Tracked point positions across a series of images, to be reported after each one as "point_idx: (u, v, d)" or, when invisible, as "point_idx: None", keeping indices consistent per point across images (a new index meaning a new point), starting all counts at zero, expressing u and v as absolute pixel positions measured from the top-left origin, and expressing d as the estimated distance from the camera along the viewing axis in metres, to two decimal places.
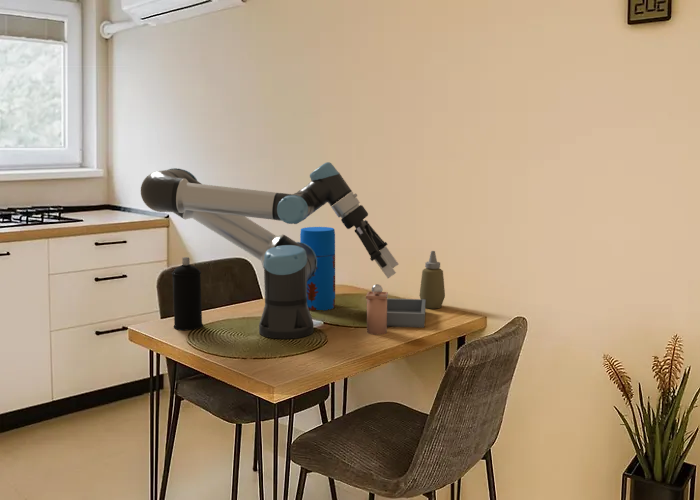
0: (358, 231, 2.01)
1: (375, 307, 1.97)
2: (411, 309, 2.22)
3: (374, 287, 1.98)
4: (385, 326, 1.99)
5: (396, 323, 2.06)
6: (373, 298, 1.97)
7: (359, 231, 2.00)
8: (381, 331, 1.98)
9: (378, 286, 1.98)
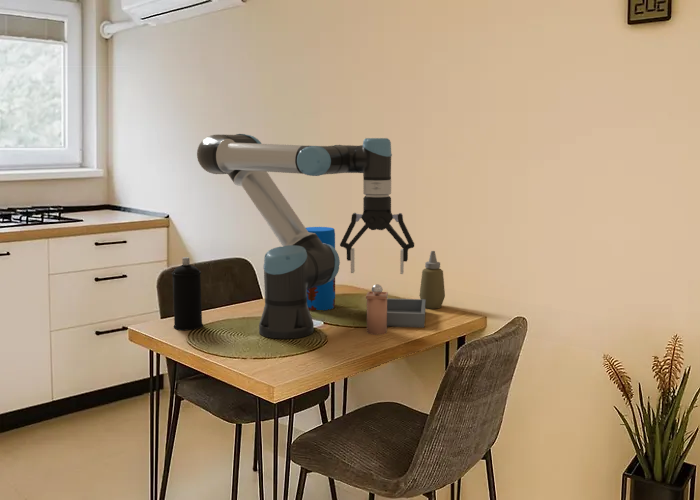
0: None
1: (375, 307, 1.97)
2: (411, 309, 2.22)
3: (374, 287, 1.98)
4: (385, 326, 1.99)
5: (396, 323, 2.06)
6: (373, 298, 1.97)
7: None
8: (381, 331, 1.98)
9: (378, 286, 1.98)
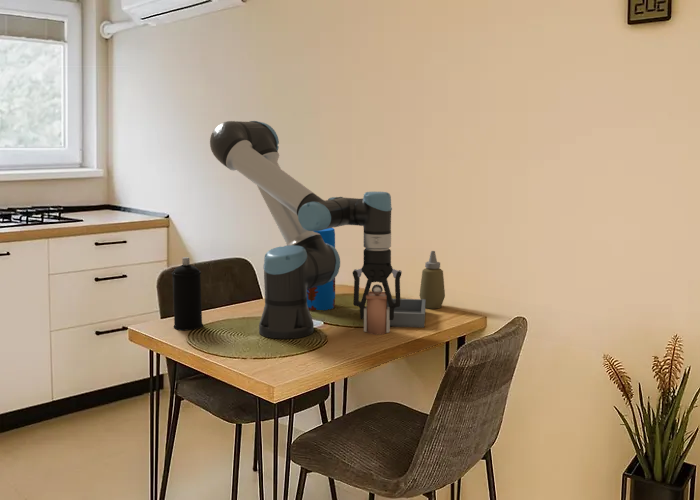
0: None
1: (375, 307, 1.97)
2: (411, 309, 2.22)
3: (374, 287, 1.98)
4: (385, 326, 1.99)
5: (396, 323, 2.06)
6: (373, 298, 1.97)
7: None
8: (382, 331, 1.98)
9: (378, 286, 1.98)
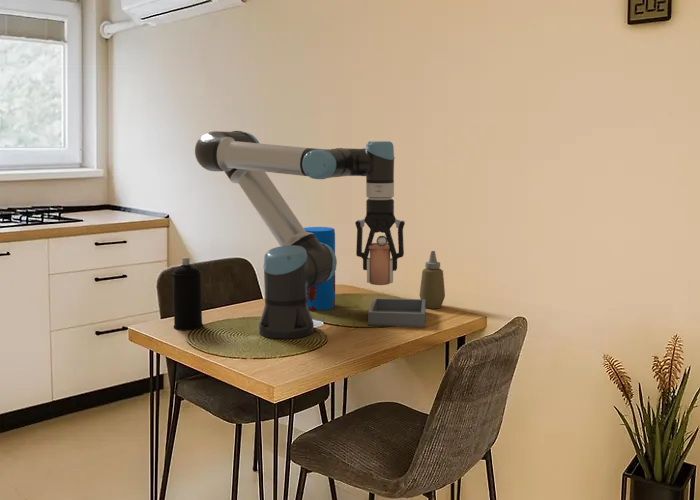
0: None
1: (378, 258, 1.96)
2: (411, 309, 2.22)
3: (381, 242, 1.95)
4: (388, 277, 1.98)
5: (396, 323, 2.06)
6: (376, 248, 1.96)
7: None
8: (385, 282, 1.97)
9: (385, 242, 1.96)
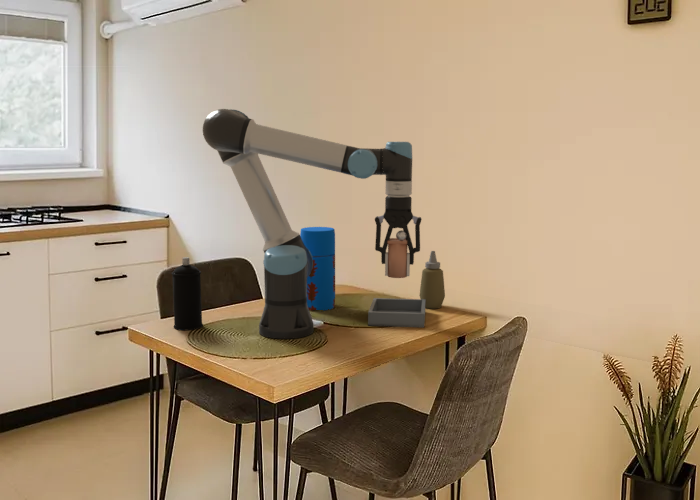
0: None
1: (396, 252, 2.07)
2: (411, 309, 2.22)
3: (404, 237, 2.06)
4: (405, 270, 2.09)
5: (396, 323, 2.06)
6: (394, 243, 2.06)
7: None
8: (402, 275, 2.08)
9: (406, 235, 2.06)
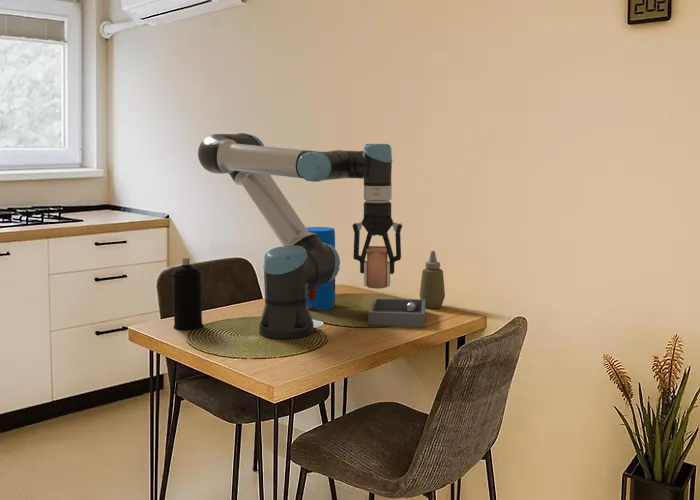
0: None
1: (375, 261, 1.95)
2: None
3: None
4: (385, 280, 1.97)
5: (396, 323, 2.06)
6: (373, 251, 1.95)
7: None
8: (382, 285, 1.96)
9: None
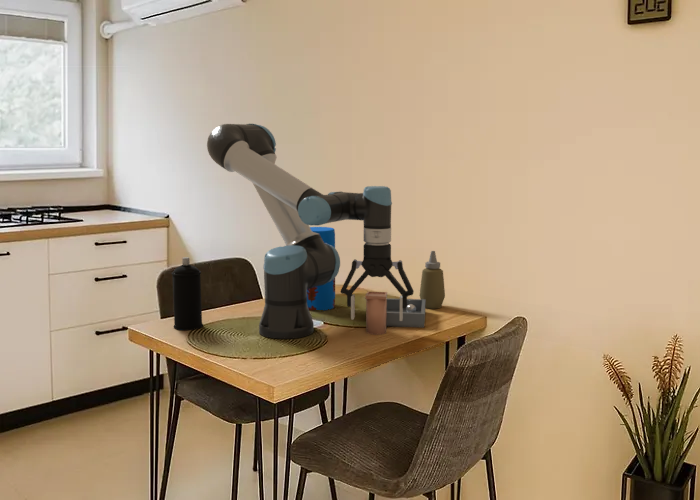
0: None
1: (374, 307, 1.97)
2: None
3: (414, 307, 2.17)
4: (384, 326, 1.99)
5: (396, 323, 2.06)
6: (372, 298, 1.97)
7: None
8: (381, 331, 1.98)
9: None
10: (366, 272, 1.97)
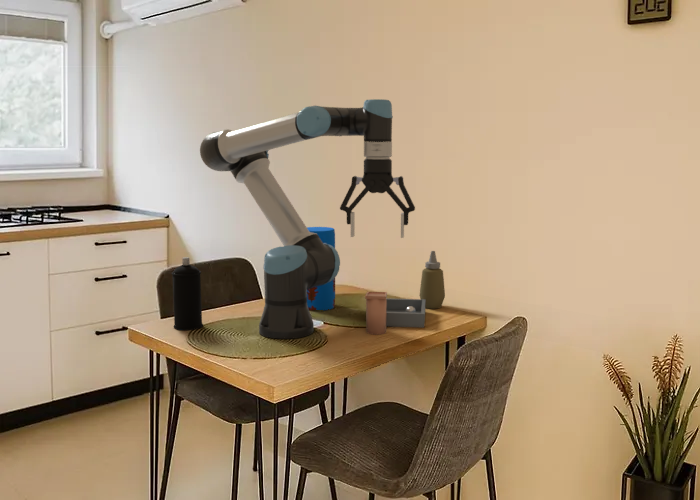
0: None
1: (374, 307, 1.97)
2: None
3: None
4: (384, 326, 1.99)
5: (396, 323, 2.06)
6: (372, 298, 1.97)
7: None
8: (381, 331, 1.98)
9: (415, 310, 2.15)
10: (366, 188, 1.93)
